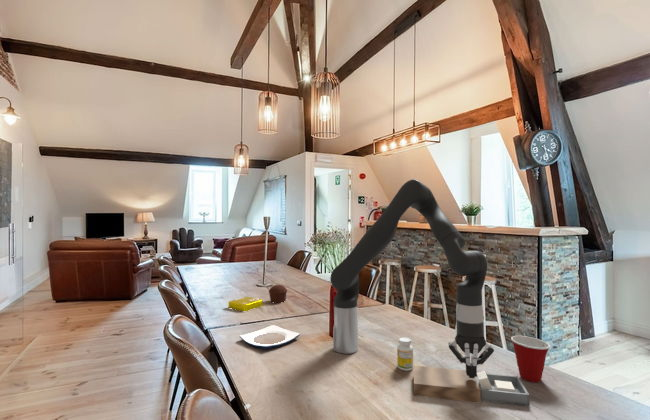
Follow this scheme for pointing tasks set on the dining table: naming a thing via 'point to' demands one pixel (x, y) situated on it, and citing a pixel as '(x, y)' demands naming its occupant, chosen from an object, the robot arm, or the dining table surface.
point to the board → (445, 384)
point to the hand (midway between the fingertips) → (471, 376)
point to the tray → (503, 396)
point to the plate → (271, 329)
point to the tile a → (484, 380)
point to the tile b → (504, 386)
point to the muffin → (277, 293)
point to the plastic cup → (530, 357)
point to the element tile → (245, 303)
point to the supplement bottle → (405, 354)
